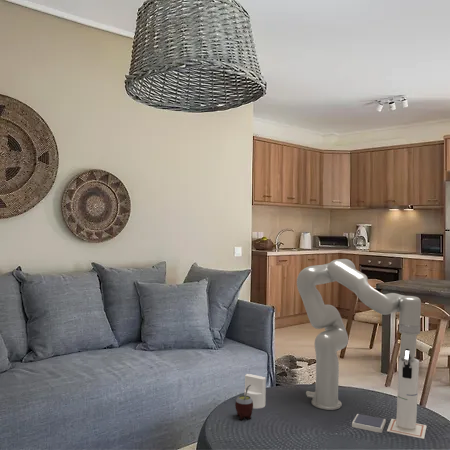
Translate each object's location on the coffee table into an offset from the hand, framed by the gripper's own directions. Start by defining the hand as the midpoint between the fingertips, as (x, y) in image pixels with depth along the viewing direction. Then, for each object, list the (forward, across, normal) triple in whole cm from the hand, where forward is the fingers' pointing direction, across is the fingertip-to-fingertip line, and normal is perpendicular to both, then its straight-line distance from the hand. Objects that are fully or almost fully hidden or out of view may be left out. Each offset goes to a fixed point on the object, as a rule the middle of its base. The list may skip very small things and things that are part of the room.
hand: (408, 374), depth 186 cm
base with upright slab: (+21, +6, -60) cm, 64 cm away
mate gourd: (+21, +22, -58) cm, 66 cm away
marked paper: (+21, 0, 0) cm, 21 cm away
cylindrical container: (+19, 0, 0) cm, 19 cm away
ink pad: (+21, +4, -13) cm, 25 cm away
